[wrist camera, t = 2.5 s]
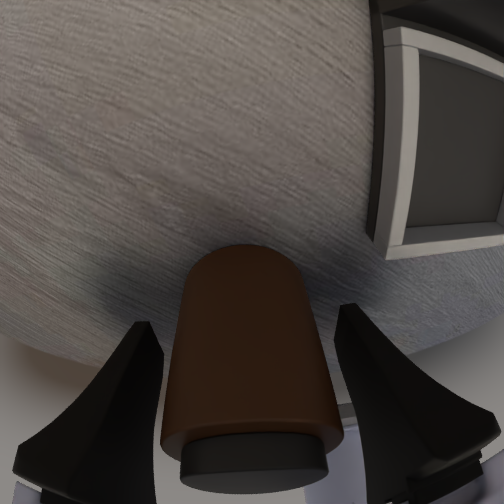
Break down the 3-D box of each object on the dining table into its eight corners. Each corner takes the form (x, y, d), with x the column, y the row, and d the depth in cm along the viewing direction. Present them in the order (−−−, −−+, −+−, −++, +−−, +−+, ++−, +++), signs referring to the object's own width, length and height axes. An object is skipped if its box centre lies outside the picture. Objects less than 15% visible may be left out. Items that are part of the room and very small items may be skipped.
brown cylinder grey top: (301, 328, 14) (334, 485, 7) (197, 337, 14) (186, 495, 7) (305, 237, 11) (375, 443, 4) (171, 250, 11) (122, 457, 4)
